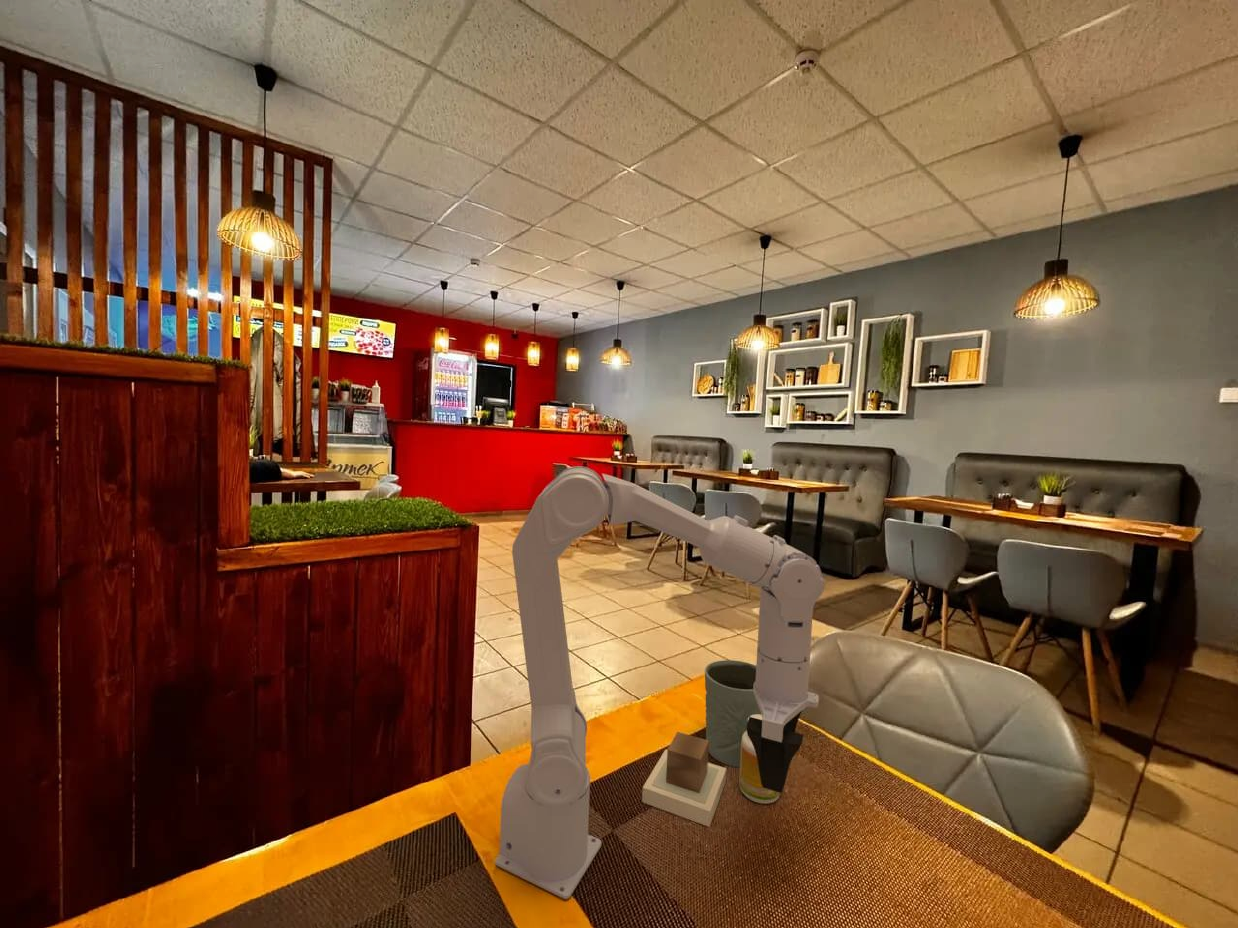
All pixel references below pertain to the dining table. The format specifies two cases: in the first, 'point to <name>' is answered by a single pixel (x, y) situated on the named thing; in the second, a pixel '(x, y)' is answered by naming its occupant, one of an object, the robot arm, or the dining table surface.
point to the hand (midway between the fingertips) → (776, 767)
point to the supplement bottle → (753, 773)
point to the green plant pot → (729, 707)
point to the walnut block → (687, 762)
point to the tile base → (685, 793)
